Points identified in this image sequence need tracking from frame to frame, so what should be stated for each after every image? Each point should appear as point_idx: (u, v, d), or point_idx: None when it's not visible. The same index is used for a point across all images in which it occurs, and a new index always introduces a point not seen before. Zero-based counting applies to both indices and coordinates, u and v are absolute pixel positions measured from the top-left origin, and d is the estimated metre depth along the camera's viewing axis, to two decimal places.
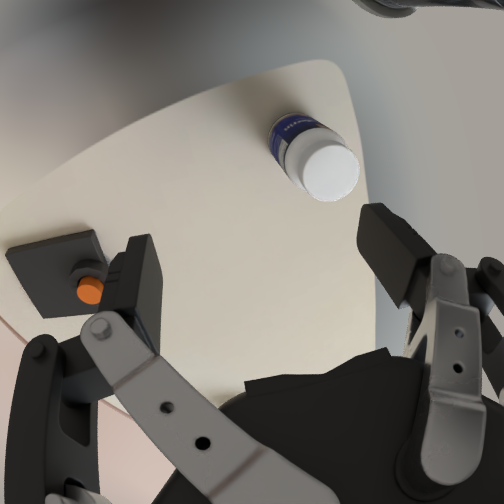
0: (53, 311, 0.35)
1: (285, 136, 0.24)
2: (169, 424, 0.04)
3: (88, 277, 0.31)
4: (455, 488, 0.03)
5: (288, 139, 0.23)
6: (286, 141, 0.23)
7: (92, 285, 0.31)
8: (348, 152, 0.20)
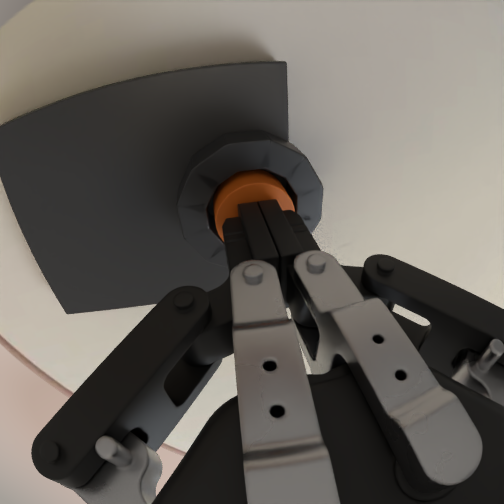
0: (96, 295, 0.16)
1: None
2: (261, 380, 0.05)
3: (255, 171, 0.12)
4: (455, 488, 0.03)
5: None
6: None
7: (279, 187, 0.11)
8: None
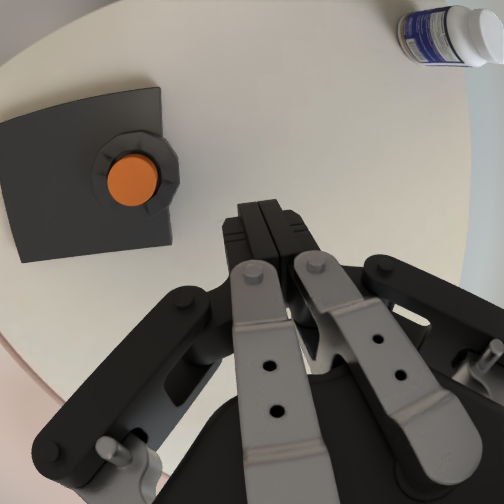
0: (42, 246, 0.20)
1: (434, 11, 0.14)
2: (262, 380, 0.05)
3: (135, 154, 0.18)
4: (455, 488, 0.03)
5: (442, 9, 0.14)
6: (440, 11, 0.14)
7: (144, 160, 0.17)
8: (501, 23, 0.11)
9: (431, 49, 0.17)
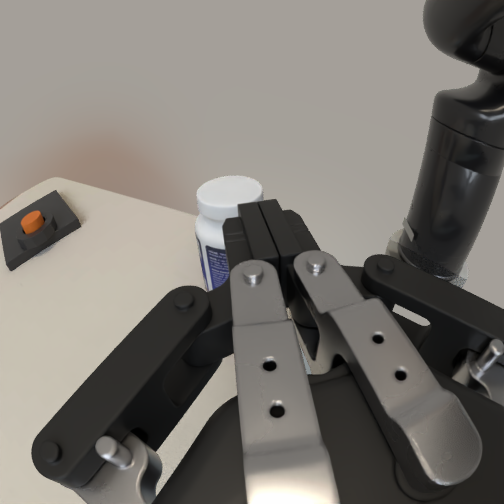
0: (6, 226, 0.35)
1: None
2: (261, 380, 0.05)
3: (43, 220, 0.32)
4: (455, 488, 0.03)
5: None
6: None
7: (39, 216, 0.31)
8: (258, 185, 0.21)
9: None
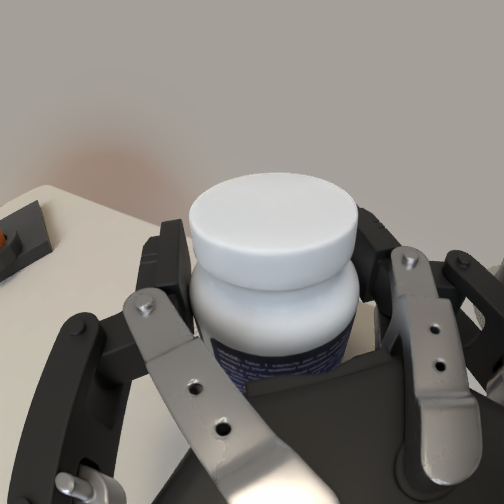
0: None
1: None
2: (195, 405, 0.04)
3: (4, 240, 0.22)
4: (455, 488, 0.03)
5: None
6: None
7: None
8: (343, 195, 0.08)
9: None
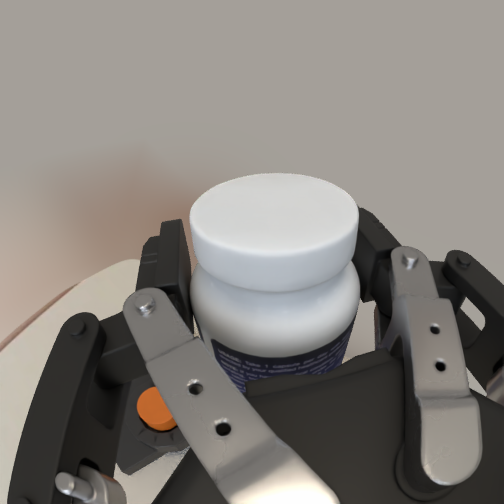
0: None
1: None
2: (194, 405, 0.04)
3: None
4: (455, 488, 0.03)
5: None
6: None
7: None
8: (344, 195, 0.08)
9: None
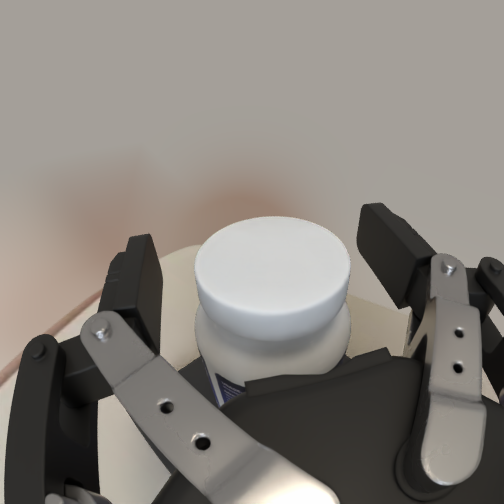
0: None
1: None
2: (169, 424, 0.04)
3: None
4: (455, 488, 0.03)
5: None
6: None
7: None
8: (338, 245, 0.09)
9: None
